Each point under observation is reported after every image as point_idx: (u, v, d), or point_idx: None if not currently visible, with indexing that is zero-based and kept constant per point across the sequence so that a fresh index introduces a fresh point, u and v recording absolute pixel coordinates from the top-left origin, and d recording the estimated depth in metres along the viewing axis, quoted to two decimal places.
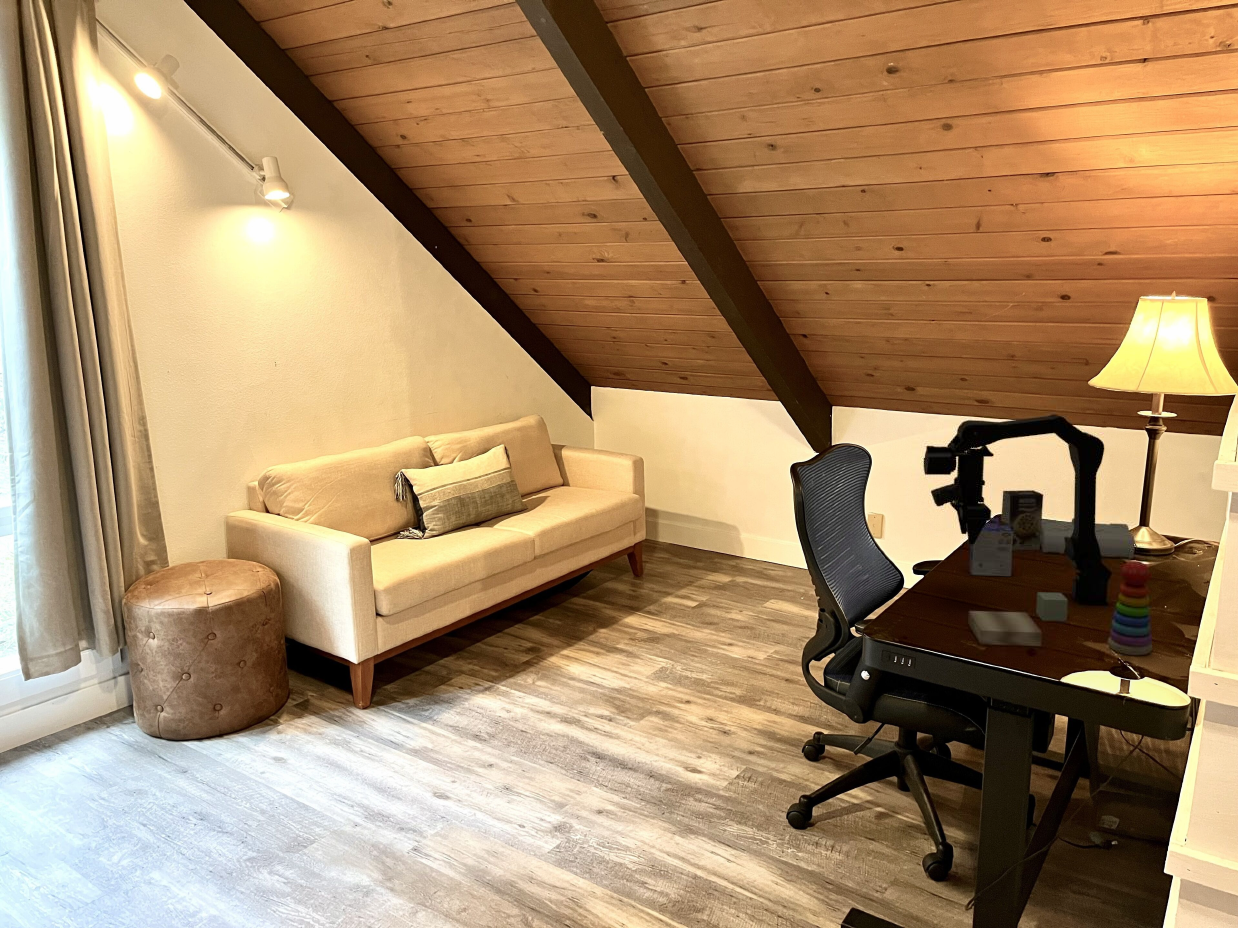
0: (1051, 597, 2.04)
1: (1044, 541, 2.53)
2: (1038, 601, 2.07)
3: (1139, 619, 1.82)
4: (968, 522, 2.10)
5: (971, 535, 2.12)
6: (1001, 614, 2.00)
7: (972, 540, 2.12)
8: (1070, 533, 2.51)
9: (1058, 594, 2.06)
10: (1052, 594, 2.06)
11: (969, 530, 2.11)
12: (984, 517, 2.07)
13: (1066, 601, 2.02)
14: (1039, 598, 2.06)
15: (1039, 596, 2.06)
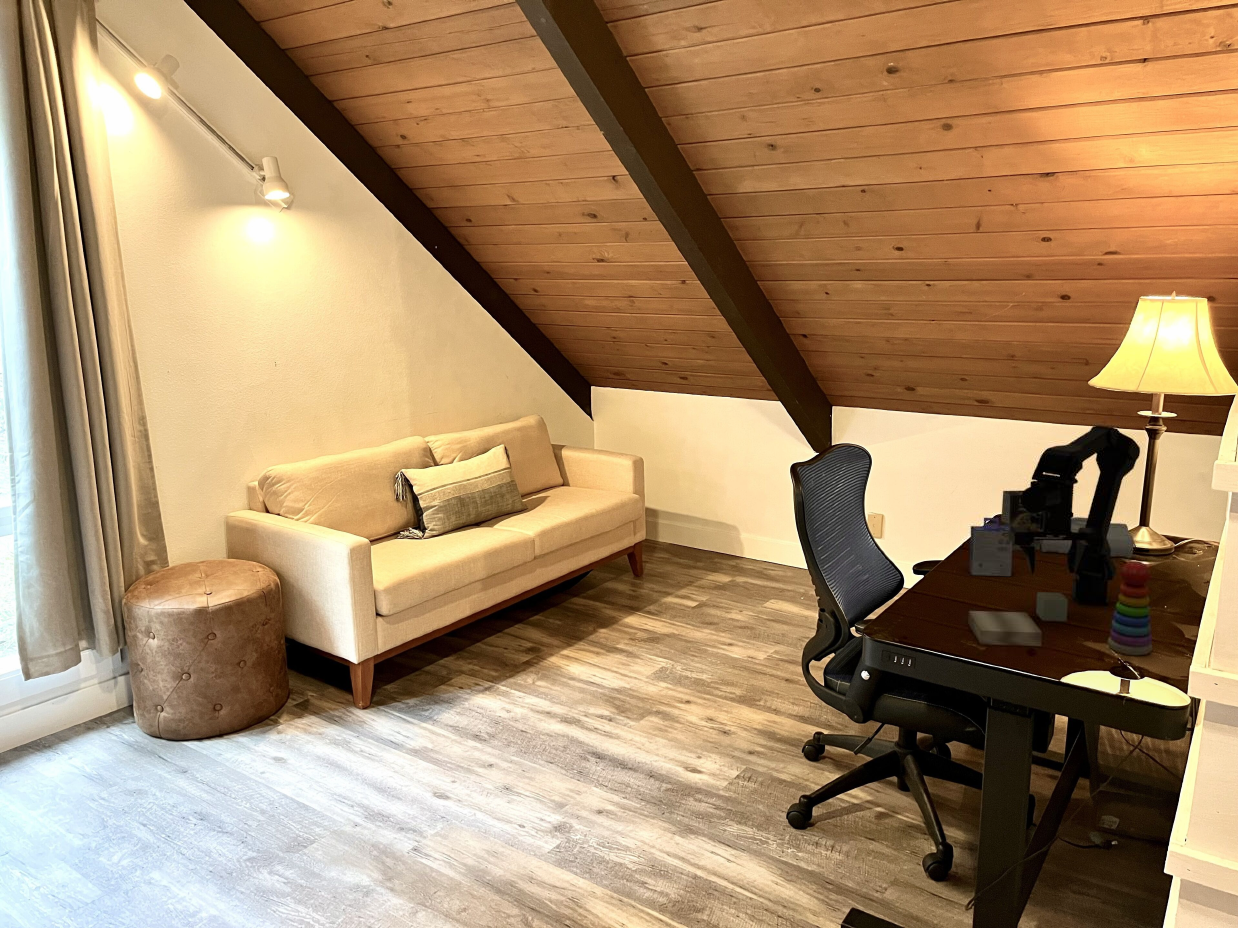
0: (1051, 597, 2.04)
1: (1043, 540, 2.53)
2: (1038, 601, 2.07)
3: (1139, 619, 1.82)
4: None
5: (1028, 562, 2.05)
6: (1001, 614, 2.00)
7: (1030, 568, 2.05)
8: None
9: (1058, 594, 2.06)
10: (1052, 594, 2.06)
11: (1026, 556, 2.05)
12: (1013, 541, 2.03)
13: (1066, 601, 2.02)
14: (1039, 598, 2.06)
15: (1039, 596, 2.06)
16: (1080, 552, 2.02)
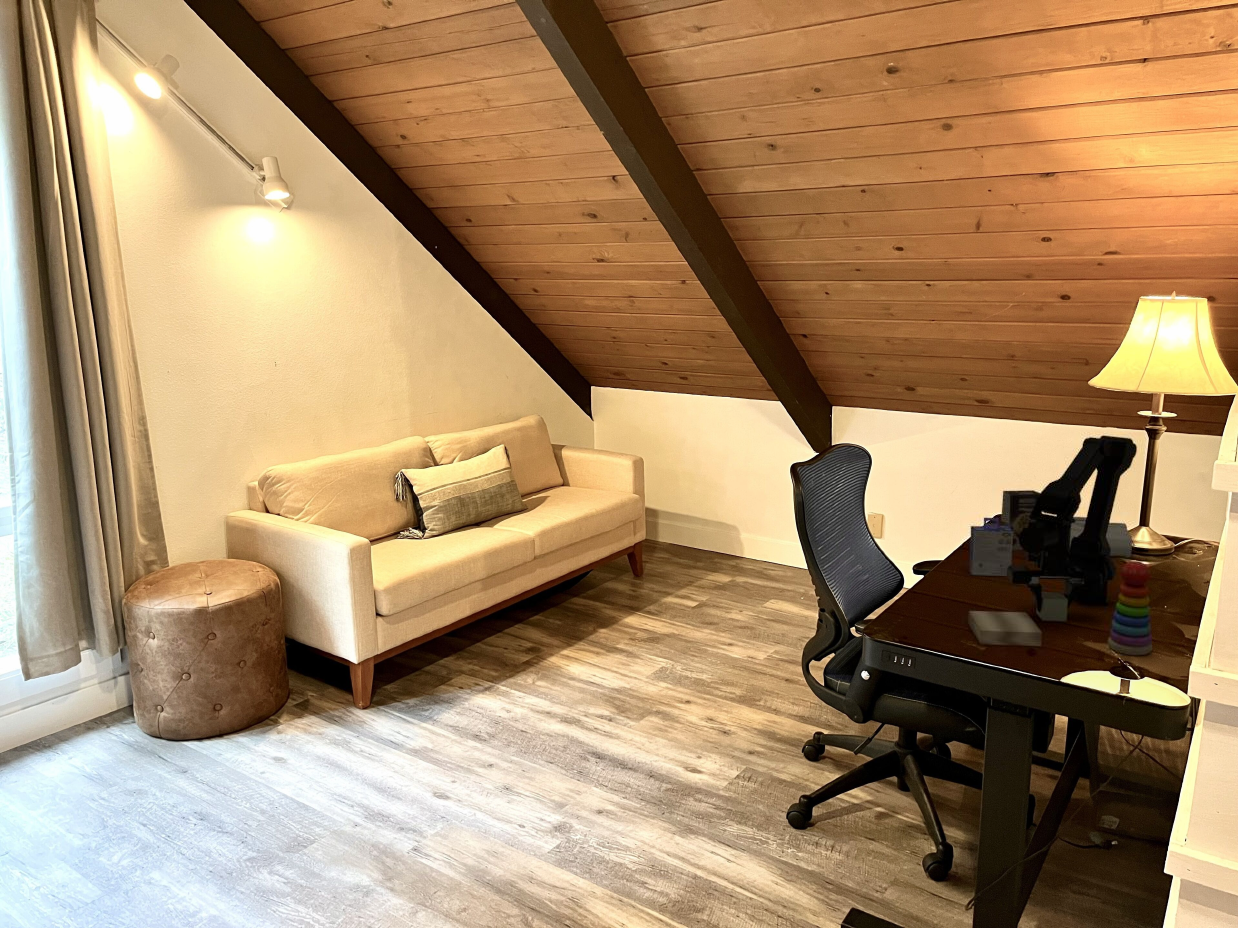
0: (1051, 596, 2.04)
1: None
2: None
3: (1139, 619, 1.82)
4: None
5: (1034, 600, 2.06)
6: (1001, 614, 2.00)
7: (1036, 606, 2.06)
8: None
9: (1058, 594, 2.06)
10: (1052, 594, 2.06)
11: (1032, 594, 2.06)
12: (1011, 580, 2.04)
13: (1066, 601, 2.02)
14: None
15: None
16: (1068, 591, 2.03)
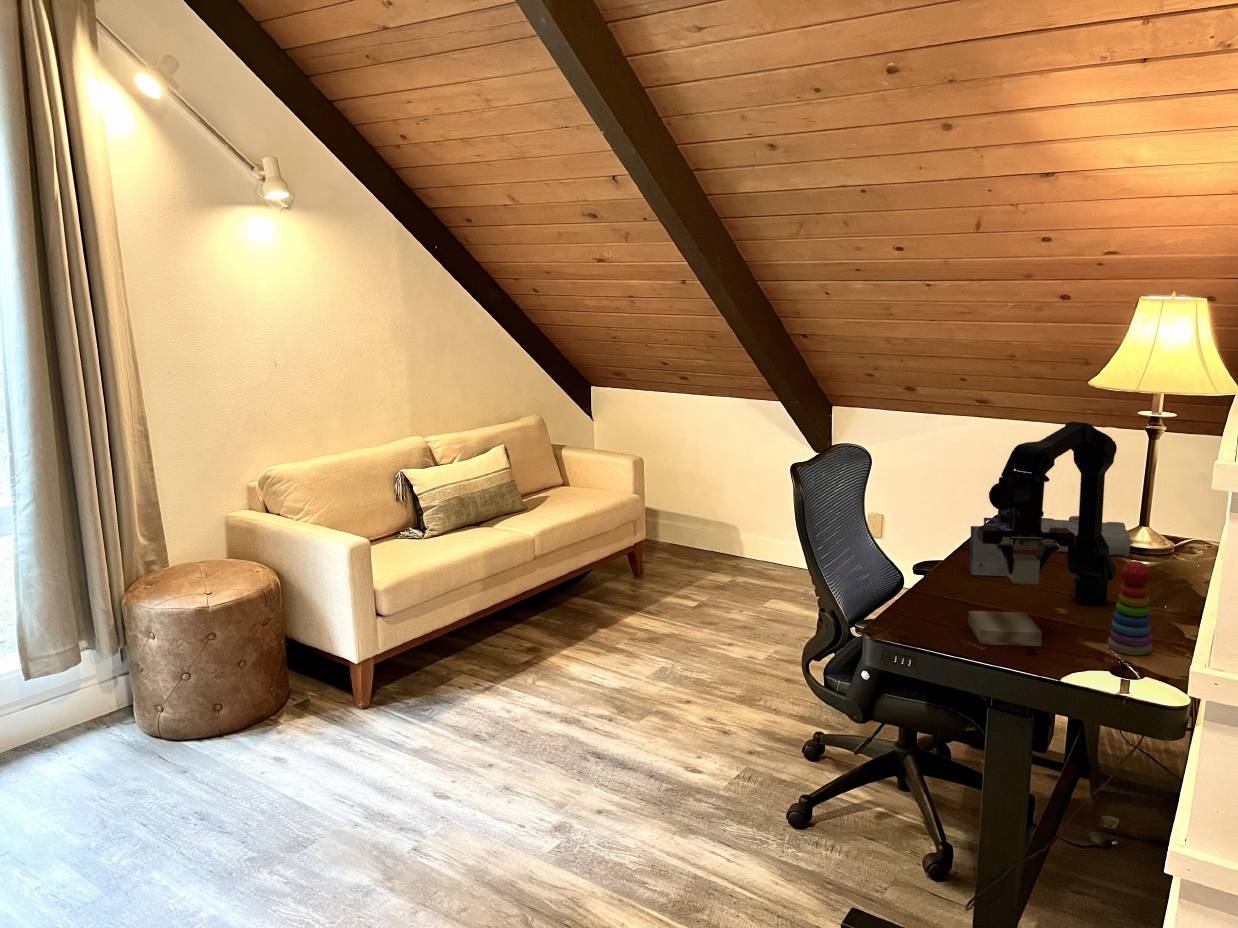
0: (1023, 558, 1.96)
1: None
2: None
3: (1139, 619, 1.82)
4: None
5: (1006, 563, 1.98)
6: (1001, 614, 2.00)
7: (1008, 569, 1.97)
8: None
9: (1030, 556, 1.98)
10: (1024, 556, 1.98)
11: (1004, 556, 1.98)
12: (981, 540, 1.96)
13: (1038, 562, 1.94)
14: None
15: None
16: (1040, 553, 1.95)
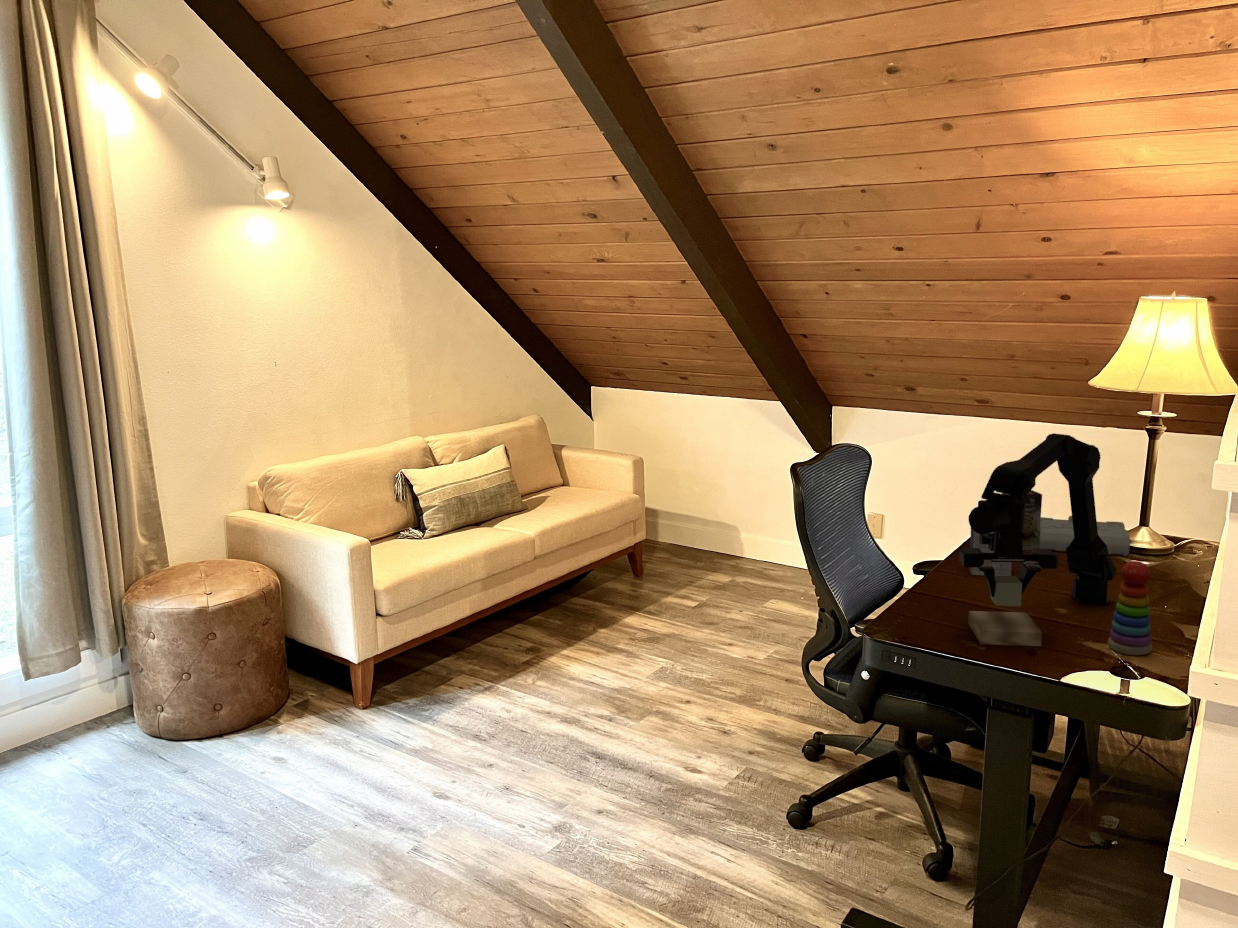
0: (1005, 580, 1.93)
1: (1040, 538, 2.55)
2: None
3: (1139, 619, 1.82)
4: None
5: (988, 585, 1.95)
6: (1001, 614, 2.00)
7: (990, 591, 1.95)
8: (1066, 530, 2.54)
9: (1013, 577, 1.95)
10: (1007, 577, 1.95)
11: (986, 578, 1.96)
12: (962, 563, 1.93)
13: (1020, 584, 1.91)
14: None
15: None
16: (1022, 575, 1.93)
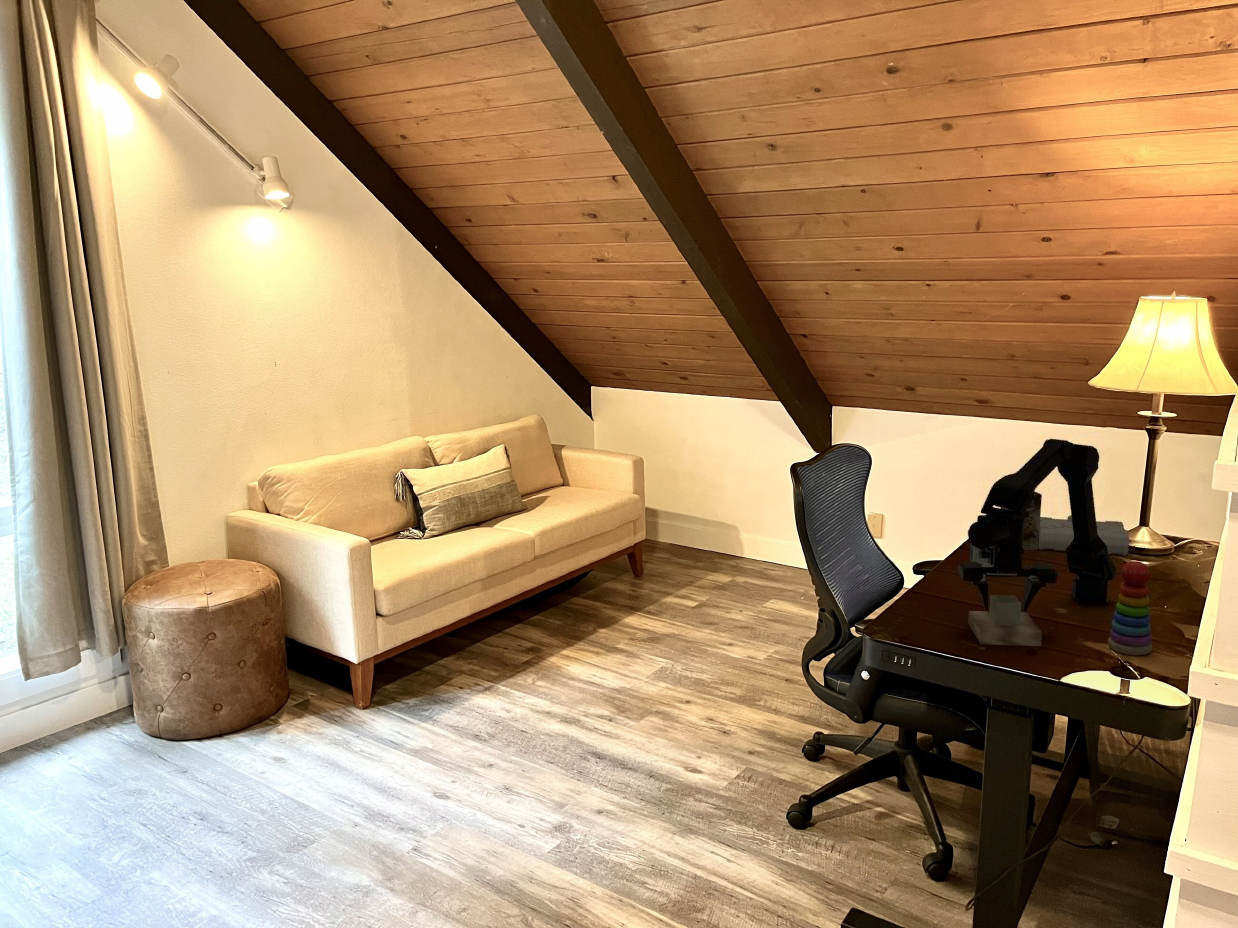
0: (1004, 600, 1.94)
1: (1040, 538, 2.56)
2: (991, 604, 1.97)
3: (1139, 619, 1.82)
4: None
5: None
6: None
7: (983, 605, 1.96)
8: (1065, 530, 2.54)
9: (1012, 597, 1.96)
10: (1005, 597, 1.96)
11: (979, 592, 1.96)
12: (962, 577, 1.94)
13: (1019, 604, 1.92)
14: (992, 601, 1.96)
15: (992, 599, 1.96)
16: (1027, 589, 1.93)
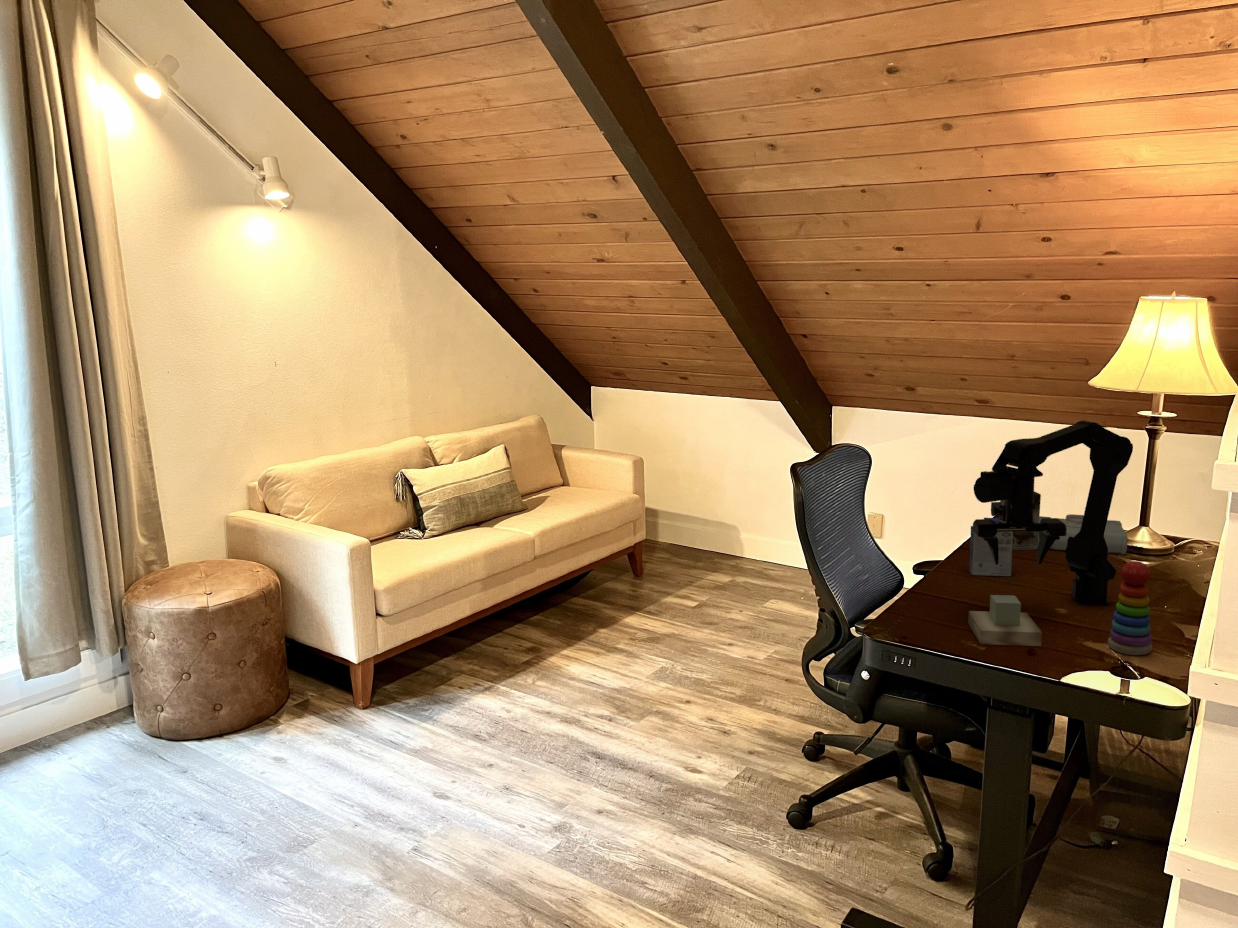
0: (1004, 600, 1.94)
1: None
2: (991, 604, 1.97)
3: (1139, 619, 1.82)
4: None
5: (992, 554, 2.08)
6: None
7: (994, 560, 2.08)
8: None
9: (1012, 597, 1.96)
10: (1005, 597, 1.96)
11: (990, 548, 2.08)
12: (977, 534, 2.06)
13: (1019, 604, 1.92)
14: (992, 601, 1.96)
15: (992, 599, 1.96)
16: (1042, 543, 2.05)
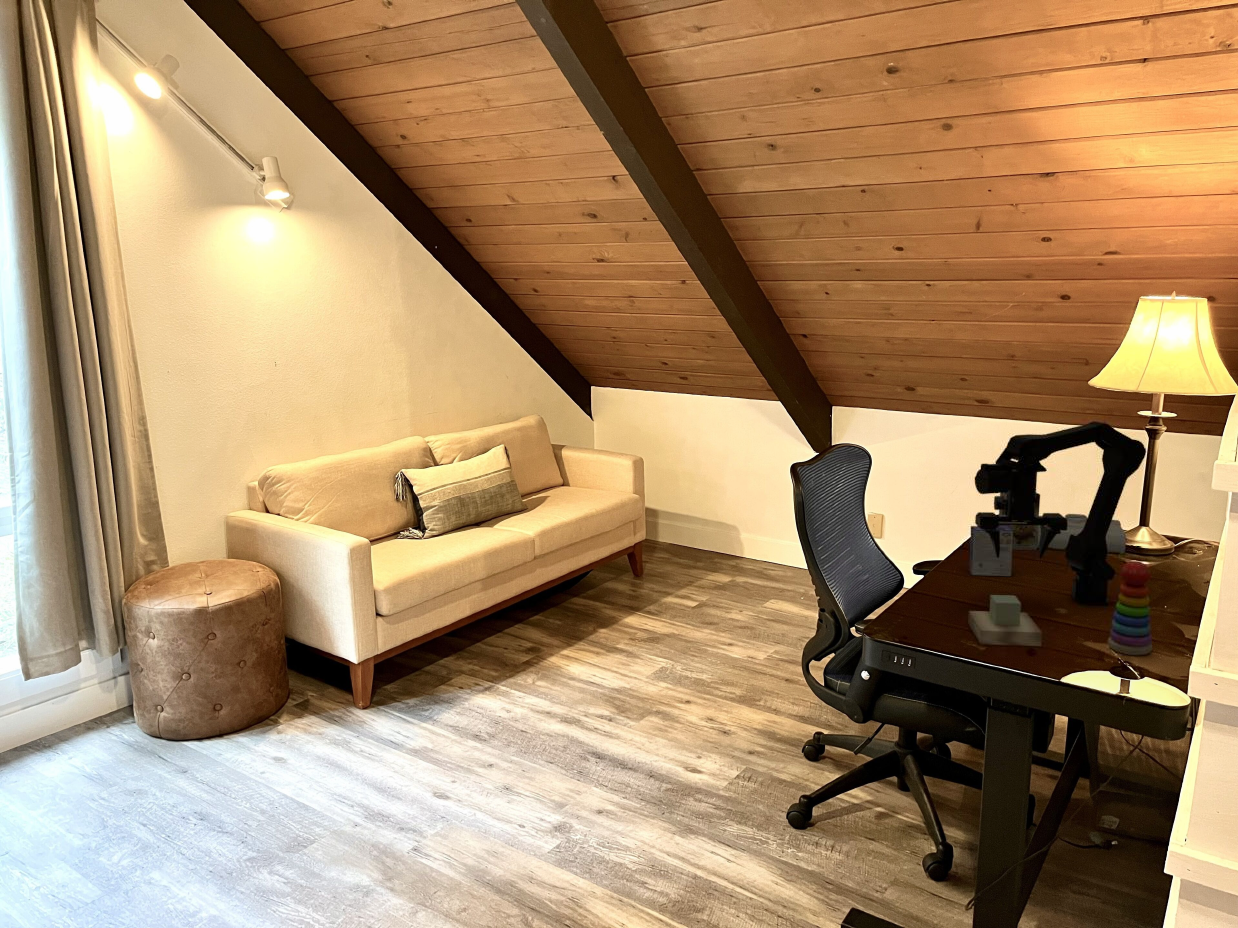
0: (1004, 600, 1.94)
1: None
2: (991, 604, 1.97)
3: (1139, 619, 1.82)
4: None
5: (993, 546, 2.11)
6: None
7: (995, 552, 2.11)
8: None
9: (1012, 597, 1.96)
10: (1005, 597, 1.96)
11: (991, 540, 2.12)
12: (979, 526, 2.09)
13: (1019, 604, 1.92)
14: (992, 601, 1.96)
15: (992, 599, 1.96)
16: (1043, 537, 2.08)
